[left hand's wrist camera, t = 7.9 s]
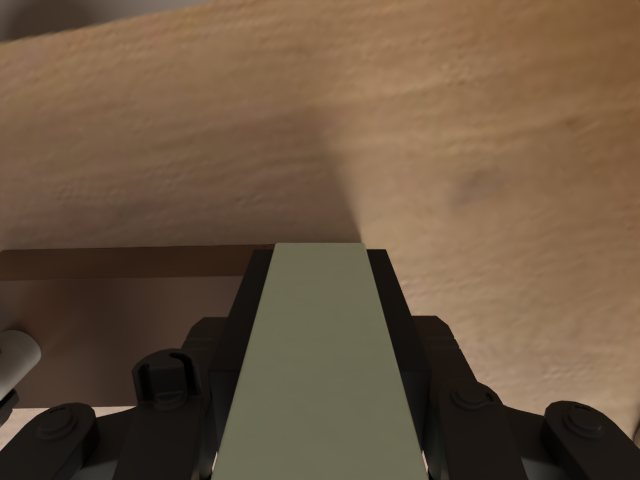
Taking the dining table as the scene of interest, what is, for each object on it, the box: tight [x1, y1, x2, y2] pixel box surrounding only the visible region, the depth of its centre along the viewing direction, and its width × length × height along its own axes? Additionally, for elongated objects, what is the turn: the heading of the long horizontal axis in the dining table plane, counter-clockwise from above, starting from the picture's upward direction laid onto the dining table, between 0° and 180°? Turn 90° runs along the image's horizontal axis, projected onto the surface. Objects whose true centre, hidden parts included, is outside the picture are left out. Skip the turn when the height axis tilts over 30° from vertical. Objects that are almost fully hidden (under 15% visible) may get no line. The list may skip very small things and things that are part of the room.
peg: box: [211, 243, 429, 480], centre depth 11 cm, size 3×3×10 cm
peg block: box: [0, 244, 275, 409], centre depth 26 cm, size 26×10×12 cm, turn 91°
